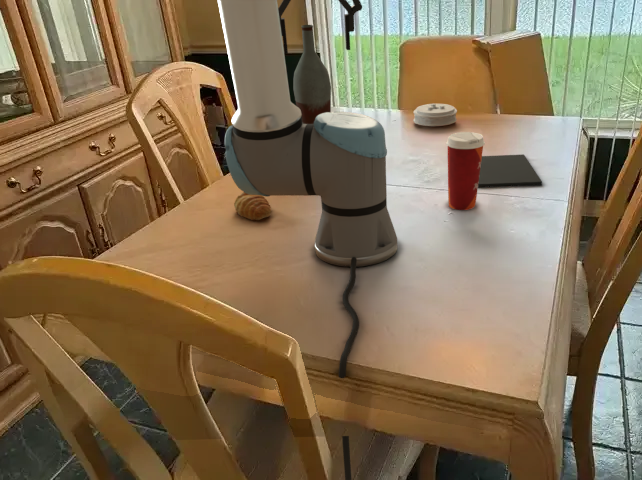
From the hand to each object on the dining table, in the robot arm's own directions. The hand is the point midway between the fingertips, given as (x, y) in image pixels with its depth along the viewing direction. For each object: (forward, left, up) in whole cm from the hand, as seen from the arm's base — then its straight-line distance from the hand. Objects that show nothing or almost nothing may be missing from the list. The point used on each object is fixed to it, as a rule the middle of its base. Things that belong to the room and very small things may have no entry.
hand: (317, 51), depth 135 cm
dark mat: (-4, -42, -27) cm, 50 cm away
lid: (+41, -30, -27) cm, 57 cm away
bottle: (+14, +3, -27) cm, 30 cm away
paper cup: (-24, -30, -27) cm, 47 cm away
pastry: (-24, +14, -27) cm, 39 cm away
